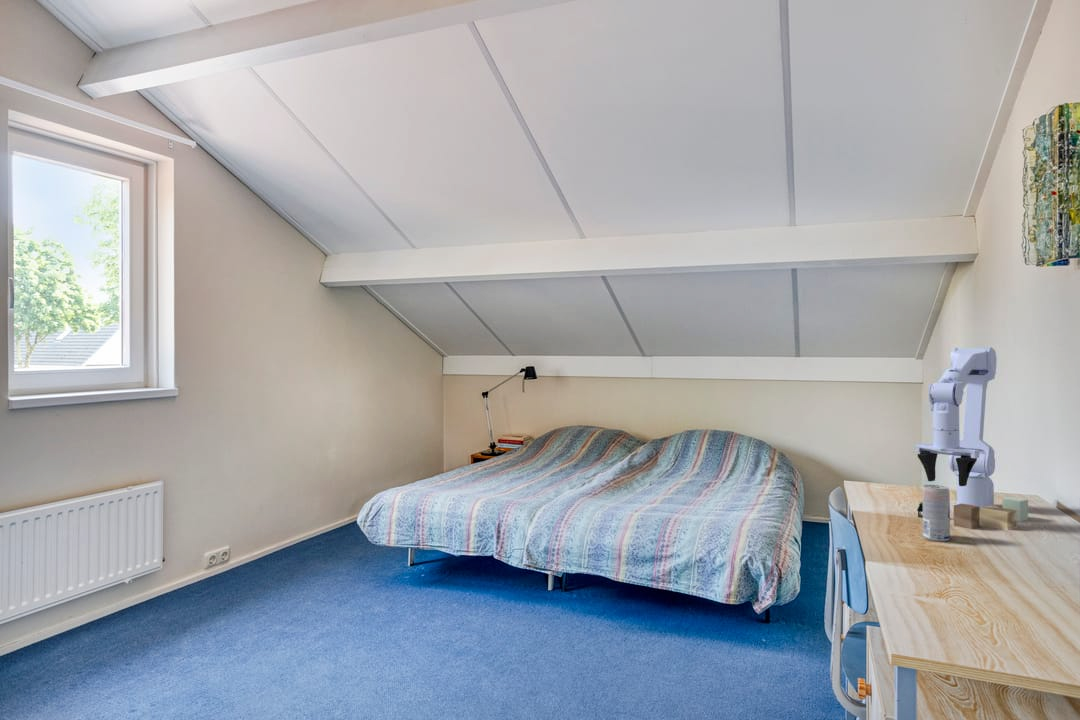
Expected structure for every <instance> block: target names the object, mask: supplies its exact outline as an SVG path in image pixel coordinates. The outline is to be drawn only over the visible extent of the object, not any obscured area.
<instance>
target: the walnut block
mask: <svg viewBox="0 0 1080 720" xmlns="http://www.w3.org/2000/svg"><path fill="white" fill-rule="evenodd" d="M953 527H959V528H964V529H969V530H973V529H977V528H980V527H981V525H980V506H975V505H969V504H963V503H962V504H957V505H954V506H953Z"/></svg>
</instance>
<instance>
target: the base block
mask: <svg viewBox="0 0 1080 720" xmlns="http://www.w3.org/2000/svg"><path fill="white" fill-rule="evenodd" d="M1017 522H1018V521H1017V518H1016V510H1011V509H1005V508H1003V507H993V506H986V507H983V508H980V526H983V525H986V526H985V527H988V526H991V527H990V528H993V527H996V528H995V529H998V528H1001V529H1000V530H1004V529H1007V530H1006V531H1009V530H1008V529H1010V530H1012V529H1011V528H1014V529H1016V528H1015V527H1017V528H1018V525H1017Z"/></svg>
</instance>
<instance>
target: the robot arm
mask: <svg viewBox="0 0 1080 720" xmlns="http://www.w3.org/2000/svg"><path fill="white" fill-rule="evenodd" d="M949 360H950V366H951V367H949V368H947V369H946V370H945V371H944V372H943V374H942V375H941V377H940V379H939V380H938V382H937V381H936V382H934V383H931V384H930V385H929V388H928V400H929V405H930V411H931V412H932V441H933V442H932V443H933V444H930V443H929V444H928V443H916V444H915V452H917V458H918V460H919V461H920V463H921V465H922V467H923V469H924V471H925V474H926V478H927V481H928V482H934V481H936V463H937V458H938V454H939V455H947V456H948V467H949V469H950V470H951V472H952V473H953V474H954V475H955V476H956V503H952V504H951V503H950V507H954V505H957V504H962V503H963V504H969V505H975V506H980V508H983V507H986V506H993V507H998V505H996V504H995V499H994V498H995V495H994V493H995V492H994V491H995V489H994V488H995V485H994V482H993V480H992V478H991V477H992V475H993V474H994V473H995V469H996V458H995V450H994V448H993V447H992V446H991V445H990V444H988V443H987V442H986V441H985V440H984V428H985V417H986V416H985V415H986V414H985V413H986V396H987V388H988V383H989V382H990V381H993V380H994V379H995V377H996V374H997V361H998V360H997V353H996V350H995V349H994V348H993V347H992V346H991V347H973V348H972V347H968V348H966V347H965V348H963V347H962V348H959V347H958V348H957V347H954V348H953V349H952V350H951V352H950V359H949ZM965 388H966V389H965ZM964 389H965V392H964ZM964 393H965V399H964V400H965V402H964V417H963V430H962V438H961V437H960V436H961V435H960V406H961V404H962V403H963V397H964Z"/></svg>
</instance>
